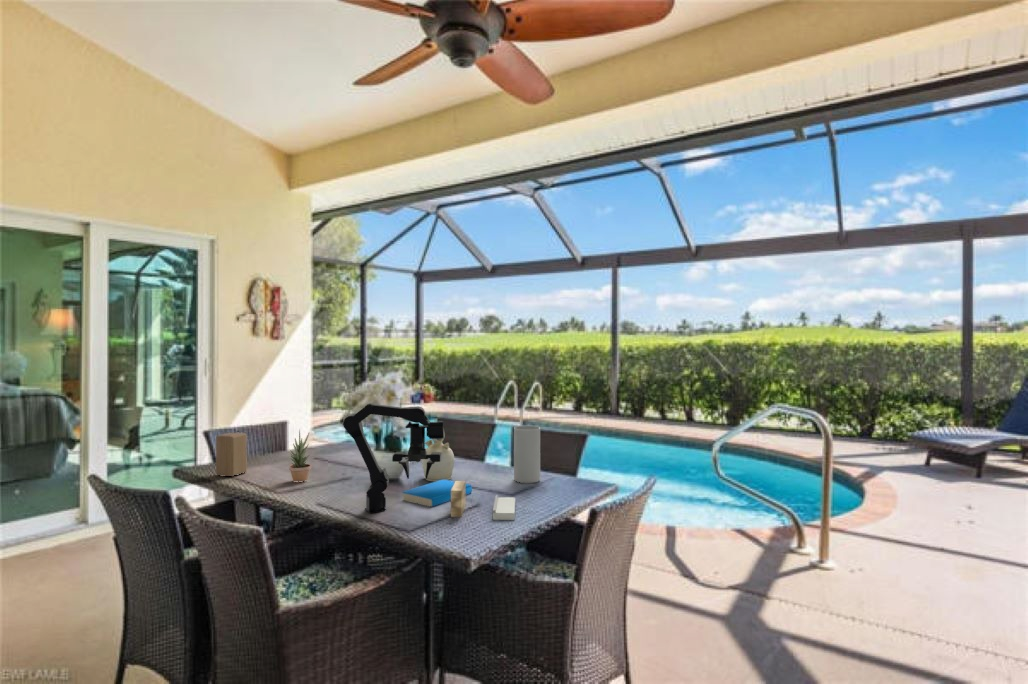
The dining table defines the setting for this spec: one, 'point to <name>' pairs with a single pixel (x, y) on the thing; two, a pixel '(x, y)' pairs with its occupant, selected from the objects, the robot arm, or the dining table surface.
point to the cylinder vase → (527, 454)
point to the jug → (445, 465)
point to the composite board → (504, 508)
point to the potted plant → (299, 462)
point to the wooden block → (231, 454)
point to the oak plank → (458, 498)
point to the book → (432, 493)
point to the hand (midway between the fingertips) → (417, 478)
